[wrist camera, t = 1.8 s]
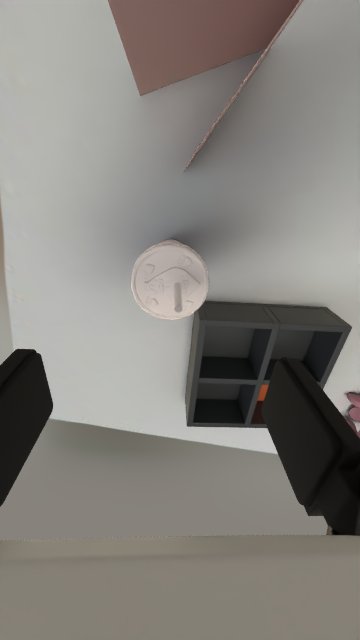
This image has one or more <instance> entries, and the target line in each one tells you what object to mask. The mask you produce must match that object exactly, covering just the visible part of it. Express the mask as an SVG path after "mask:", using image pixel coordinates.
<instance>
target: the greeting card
mask: <svg viewBox="0 0 360 640" xmlns="http://www.w3.org/2000/svg"><path fill="white" fill-rule="evenodd" d="M108 2H109V5H110V8H111V11H112V14H113V17H114V20H115V22H116V25H117V28H118V31H119V34H120V37H121V40H122V43H123V46H124V49H125V52H126V55H127V58H128V61H129V64H130V67H131V70H132V72H133V75H134V78H135V81H136V84H137V87H138V90H139V93H140V96H141V95H143V94H146V93H149V92H151V91H154V90H156V89H159V88H162V87H164V86H167V85H170V84H172V83H175V82H178V81H180V80H183V79H186V78H188V77H191V76H194V75H196V74H199V73H202V72H204V71H207V70H210V69H212V68H215V67H218V66H220V65H223V64H226V63H228V62H231V61H234V60H236V59H239V58H242V57H244V56H247V55H250V54H252V53H255V52H258V51H260V50H263V49H266V50H265V51H264V53H263V54H262V56H261V57H260V58H259V60H258V61H257V63H256V64H255V66H254V67H253V68H252V70H251V71H250V73H249V74H248V76H247V77H246V79H245V80H244V81H243V83H242V84H241V86H240V87H239V89H238V90H237V91H236V93H235V94H234V96H233V97H232V99H231V100H230V102H229V103H228V104H227V106H226V107H225V109H224V110H223V112H222V113H221V114H220V116H219V117H218V119H217V120H216V122H215V123H214V125H213V126H212V127H211V129H210V130H209V132H208V133H207V135H206V136H205V137H204V139H203V140H202V142H201V143H200V145H199V146H198V148H197V149H196V151H195V152H194V154H193V156H192V158H191V159H190V161H189V163H188V164H187V166H186V168H187V167H188V165H189V164H190V162H191V161H192V159H193V158H194V157H195V155H196V154H197V152H198V151H199V149H200V148H201V147H202V145H203V144H204V142H205V141H206V139H207V138H208V137H209V135H210V134H211V132H212V131H213V129H214V128H215V127H216V125H217V124H218V122H219V121H220V119H221V118H222V117H223V115H224V114H225V112H226V111H227V109H228V108H229V107H230V105H231V104H232V102H233V101H234V99H235V98H236V97H237V95H238V94H239V92H240V91H241V90H242V88H243V87H244V85H245V84H246V82H247V81H248V80H249V78H250V77H251V75H252V74H253V72H254V71H255V70H256V68H257V67H258V65H259V64H260V62H261V61H262V60H263V58H264V57H265V55H266V54H267V52H268V51H269V50H270V48H271V47H272V45H273V44H274V42H275V41H276V39H277V38H278V37H279V35H280V34H281V32H282V31H283V29H284V28H285V26H286V25H287V23H288V22H289V21H290V19H291V18H292V16H293V15H294V13H295V12H296V10H297V9H298V8H299V6H300V5H301V3H302V2H303V0H108ZM186 168H185V169H186ZM184 171H185V170H184ZM184 171H183V172H184Z"/></svg>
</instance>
